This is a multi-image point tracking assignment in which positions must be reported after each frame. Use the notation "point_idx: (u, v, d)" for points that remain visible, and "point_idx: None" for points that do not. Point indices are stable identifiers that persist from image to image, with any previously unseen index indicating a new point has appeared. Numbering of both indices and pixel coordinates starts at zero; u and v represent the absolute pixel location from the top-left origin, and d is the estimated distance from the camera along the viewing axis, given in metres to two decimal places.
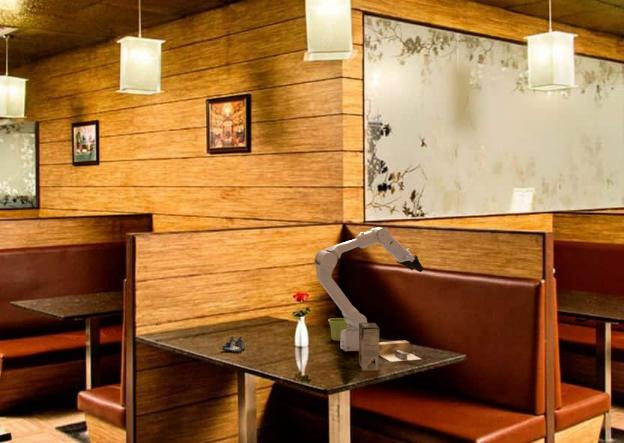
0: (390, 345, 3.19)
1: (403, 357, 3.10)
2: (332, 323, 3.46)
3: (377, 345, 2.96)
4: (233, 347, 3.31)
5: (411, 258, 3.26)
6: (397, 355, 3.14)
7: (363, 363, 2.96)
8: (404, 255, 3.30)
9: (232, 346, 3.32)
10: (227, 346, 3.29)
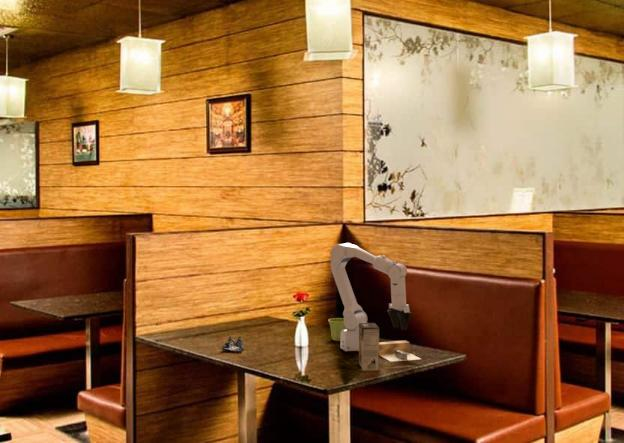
0: (390, 345, 3.19)
1: (403, 357, 3.10)
2: (332, 323, 3.46)
3: (377, 345, 2.96)
4: (232, 347, 3.31)
5: (407, 309, 3.11)
6: (397, 355, 3.14)
7: (363, 363, 2.96)
8: (401, 304, 3.15)
9: (231, 346, 3.31)
10: (226, 346, 3.29)
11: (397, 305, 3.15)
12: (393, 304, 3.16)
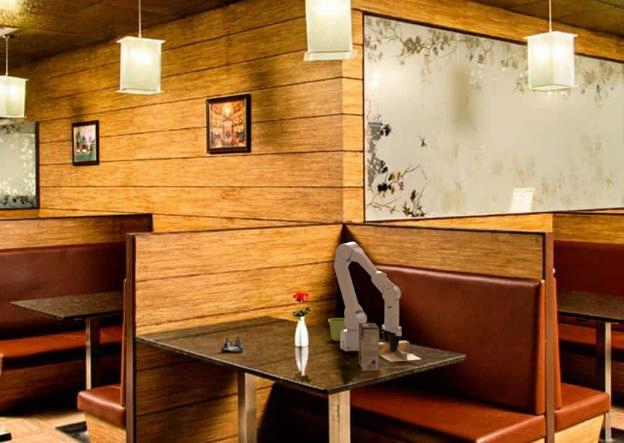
0: None
1: (403, 357, 3.10)
2: (332, 323, 3.46)
3: (377, 345, 2.96)
4: (229, 348, 3.31)
5: (399, 332, 3.14)
6: (397, 355, 3.14)
7: (363, 363, 2.96)
8: (394, 327, 3.18)
9: (228, 347, 3.31)
10: (225, 347, 3.28)
11: (390, 327, 3.18)
12: (386, 326, 3.20)
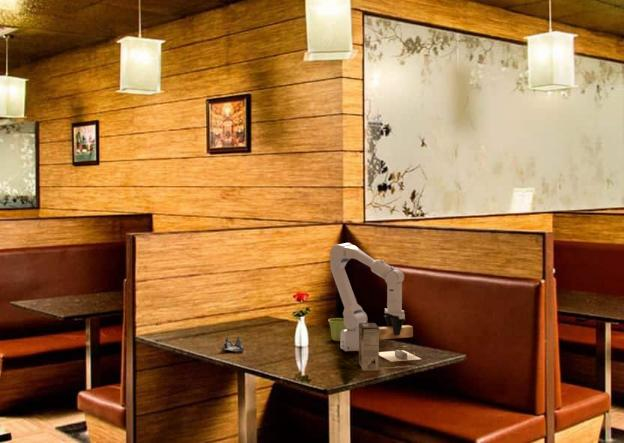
0: None
1: (403, 357, 3.10)
2: (332, 323, 3.46)
3: (377, 345, 2.96)
4: (229, 348, 3.30)
5: (402, 315, 3.12)
6: (397, 355, 3.14)
7: (363, 363, 2.96)
8: (397, 310, 3.16)
9: (228, 347, 3.30)
10: (225, 347, 3.27)
11: (393, 311, 3.16)
12: (389, 309, 3.17)
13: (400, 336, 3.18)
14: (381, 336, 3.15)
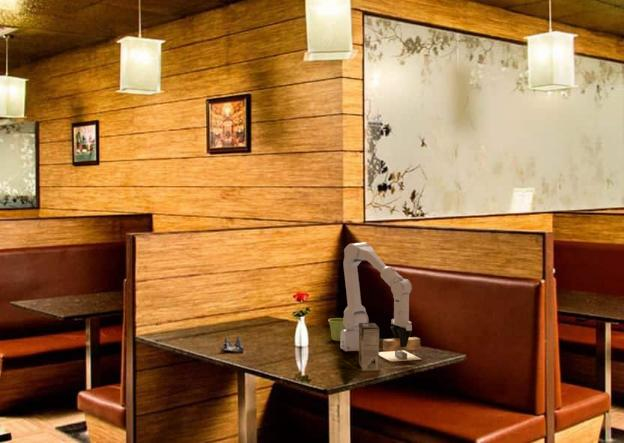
0: None
1: (403, 357, 3.10)
2: (332, 323, 3.46)
3: (377, 345, 2.96)
4: (229, 348, 3.30)
5: (409, 327, 3.06)
6: (397, 355, 3.14)
7: (363, 363, 2.96)
8: (404, 321, 3.10)
9: (227, 347, 3.30)
10: (225, 347, 3.27)
11: (399, 322, 3.10)
12: (395, 321, 3.11)
13: (407, 348, 3.12)
14: (388, 348, 3.09)
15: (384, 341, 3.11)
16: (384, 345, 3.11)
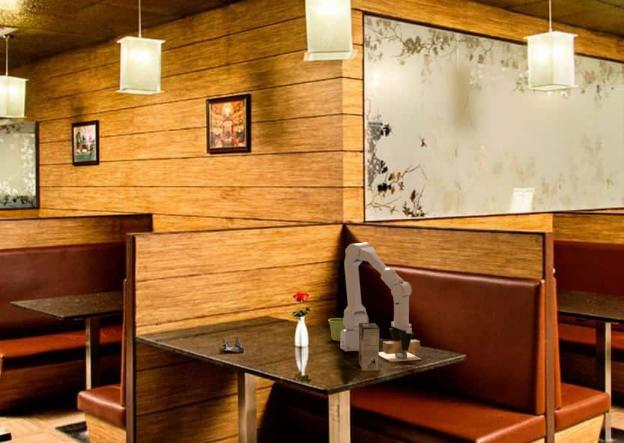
0: (400, 344, 3.11)
1: (403, 357, 3.10)
2: (332, 323, 3.46)
3: (377, 345, 2.96)
4: (227, 348, 3.29)
5: (409, 330, 3.06)
6: (397, 355, 3.14)
7: (363, 363, 2.96)
8: (404, 324, 3.10)
9: (226, 347, 3.30)
10: (224, 348, 3.26)
11: (399, 325, 3.10)
12: (395, 323, 3.11)
13: (407, 351, 3.12)
14: (388, 351, 3.09)
15: (384, 343, 3.11)
16: (384, 347, 3.11)
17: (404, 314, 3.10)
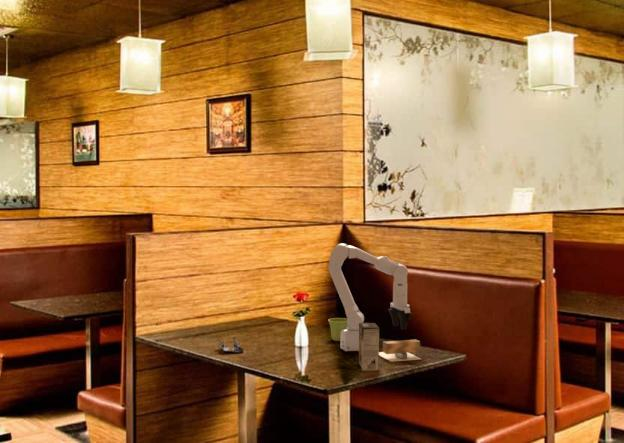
0: (400, 344, 3.11)
1: (403, 357, 3.10)
2: (332, 323, 3.46)
3: (377, 345, 2.96)
4: (225, 349, 3.28)
5: (407, 309, 3.18)
6: (397, 355, 3.14)
7: (363, 363, 2.96)
8: (402, 304, 3.22)
9: (223, 348, 3.28)
10: (223, 348, 3.25)
11: (398, 305, 3.22)
12: (394, 304, 3.23)
13: (407, 351, 3.12)
14: (388, 351, 3.09)
15: (384, 343, 3.11)
16: (384, 347, 3.11)
17: (403, 295, 3.22)
